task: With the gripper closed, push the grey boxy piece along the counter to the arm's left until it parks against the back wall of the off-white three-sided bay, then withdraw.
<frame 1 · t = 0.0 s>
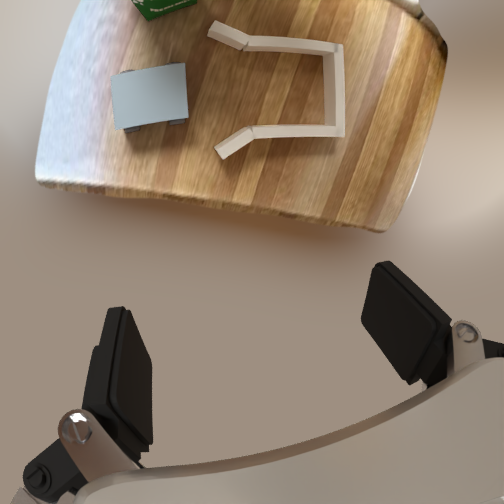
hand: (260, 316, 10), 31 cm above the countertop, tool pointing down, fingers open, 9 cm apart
grey boxy piece: (152, 97, 31), on the countertop
bay: (292, 87, 34), on the countertop
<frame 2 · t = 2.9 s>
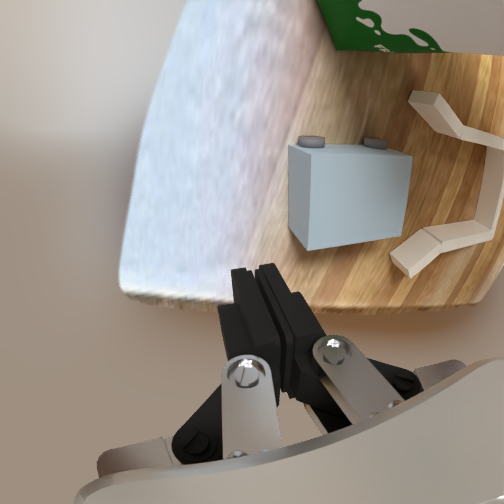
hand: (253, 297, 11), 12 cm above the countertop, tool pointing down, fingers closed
milk carton: (354, 12, 15), on the countertop
grey boxy piece: (336, 183, 23), on the countertop
bay: (463, 182, 26), on the countertop
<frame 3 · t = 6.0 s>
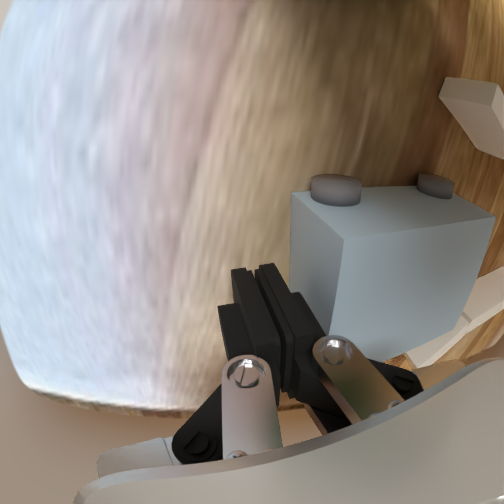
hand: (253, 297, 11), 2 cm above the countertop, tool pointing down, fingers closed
grey boxy piece: (368, 250, 14), on the countertop, touching gripper
bay: (502, 220, 16), on the countertop
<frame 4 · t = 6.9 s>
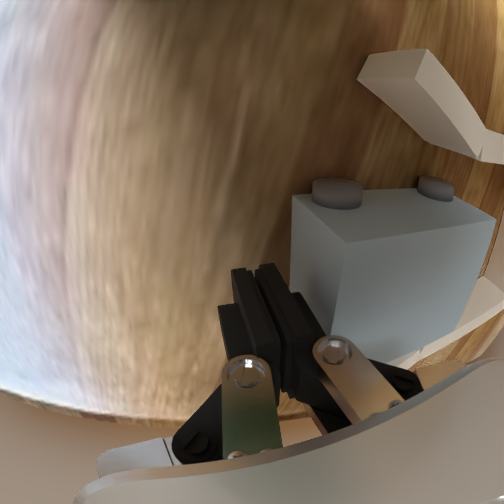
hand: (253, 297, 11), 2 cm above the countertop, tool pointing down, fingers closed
grey boxy piece: (369, 252, 14), on the countertop, touching gripper
bay: (474, 226, 15), on the countertop
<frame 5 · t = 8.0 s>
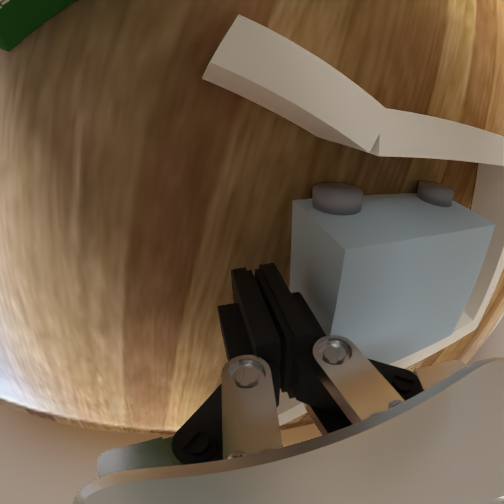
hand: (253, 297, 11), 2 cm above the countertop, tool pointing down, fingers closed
grey boxy piece: (368, 256, 14), on the countertop, touching gripper
bay: (421, 238, 14), on the countertop
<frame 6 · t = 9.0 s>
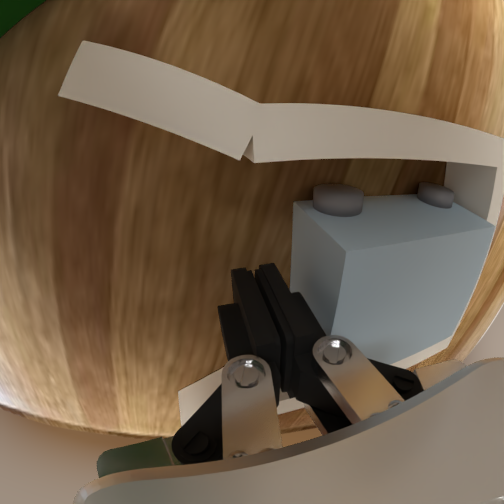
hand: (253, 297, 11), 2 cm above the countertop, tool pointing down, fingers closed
grey boxy piece: (368, 257, 14), on the countertop
bay: (371, 250, 14), on the countertop
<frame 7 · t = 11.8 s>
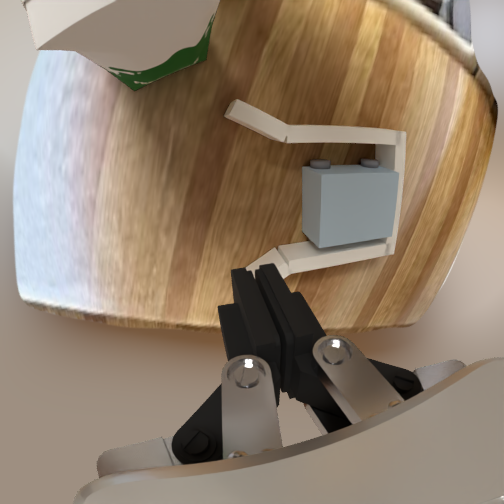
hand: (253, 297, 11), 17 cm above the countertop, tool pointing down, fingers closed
milk carton: (157, 44, 19), on the countertop
grey boxy piece: (339, 196, 29), on the countertop
bay: (336, 190, 29), on the countertop
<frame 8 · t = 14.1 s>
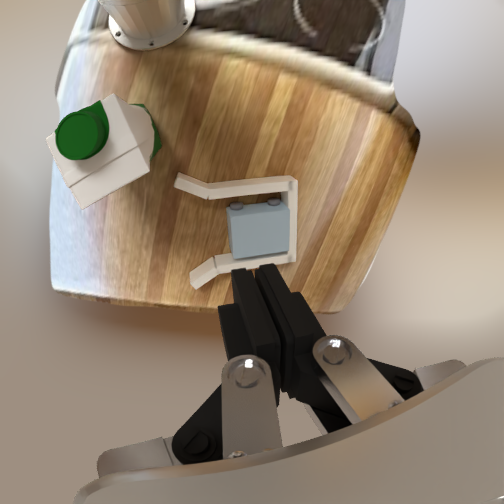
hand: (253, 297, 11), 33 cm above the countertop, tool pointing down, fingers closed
milk carton: (131, 135, 35), on the countertop
grey boxy piece: (254, 223, 47), on the countertop
bay: (251, 220, 46), on the countertop
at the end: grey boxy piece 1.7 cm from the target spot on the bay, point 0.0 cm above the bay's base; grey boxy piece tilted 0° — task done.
